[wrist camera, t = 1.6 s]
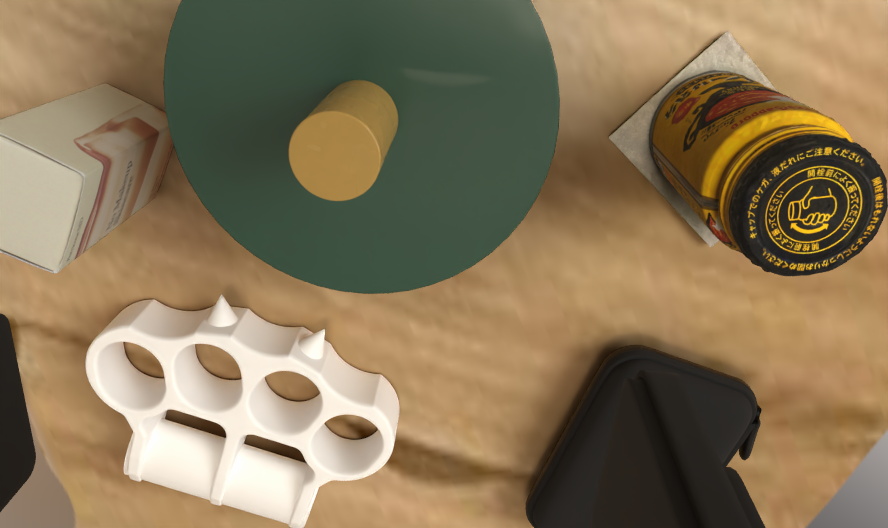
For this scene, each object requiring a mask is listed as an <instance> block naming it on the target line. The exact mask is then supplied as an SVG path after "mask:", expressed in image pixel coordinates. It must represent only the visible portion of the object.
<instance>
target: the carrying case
mask: <svg viewBox="0 0 888 528" xmlns="http://www.w3.org/2000/svg"><path fill="white" fill-rule="evenodd" d="M640 370H648V371H658V372H667V373H676V374H679V375H680V376H681V378H682V380H683V382H684V384H685V386H686V388H687V390H688V392H689V395H690V397H691V399H692V401H693V403H694V405H695V407H696V410H697V412H698V414H699V416H700V418H701V420H702V422H703V425H704V427H705V429H706V431H707V433H708V435H709V437H710V440H711V442H712V444H713V446H714V448H715V450H716V452H717V455H718V457H719V459H720V461H721V463H722V465H723V467H726V466H727V465H728V463H729V462H730V461H731V459H732V458H733V456H734V455H735V453H736V452H737V451H738V449H739V455H740V457H741V458H742V459H743V460H746V459H747V458H748V457H749V456H750V454H751V451H752V448H753V445H754V441H755V438H756V435H757V432H758V429H759V427H760V420H759V416H760V413H761V408H760V407H759V406H758V405H757V401H756V397H755V395H754V393H753V391H752V390H751V389H750V387H749V386H748V385H747V384H746V383H745V382H743V381H742V380H740V379H738V378H736V377H733V376H730V375H727V374H724V373H721V372H718V371H716V370H713V369H710V368H707V367H704V366H701V365H698V364H695V363H693V362H690V361H687V360H684V359H681V358H678V357H675V356H673V355H670V354H667V353H664V352H661V351H658V350H655V349H652V348H650V347H646V346H642V345H631V346H625V347H622V348H620V349H617V350H615V351H614V352H612V353H611V354H610V355H608V356H607V357H606V359H605V360H604V361H603V362H602V364H601V366H600V367H599V369H598V371H597V372H596V374H595V376H594V377H593V379H592V381H591V383H590V385H589V387H588V388H587V390H586V392H585V394H584V396H583V397H582V399H581V401H580V403H579V405H578V407H577V408H576V410H575V412H574V414H573V416H572V417H571V419H570V421H569V423H568V425H567V426H566V428H565V430H564V432H563V434H562V436H561V437H560V439H559V441H558V443H557V445H556V446H555V448H554V450H553V452H552V454H551V455H550V457H549V459H548V461H547V463H546V464H545V466H544V468H543V470H542V472H541V473H540V475H539V477H538V479H537V481H536V482H535V484H534V486H533V488H532V490H531V492H530V494H529V496H528V499H527V502H526V515H527V518H528V520H529V522H530V523H531V524H532V526H533V527H534V528H590V525H591V513H592V508H593V504H594V499H595V495H596V491H597V487H598V483H599V479H600V475H601V470H602V466H603V462H604V458H605V454H606V450H607V446H608V441H609V437H610V433H611V429H612V425H613V421H614V417H615V412H616V408H617V404H618V400H619V396H620V392H621V388H622V384H623V382H624V380H625V379H626V378H632V379H635V378H636V375H637V373H638V372H639V371H640Z"/></svg>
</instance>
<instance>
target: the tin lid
mask: <svg viewBox="0 0 888 528" xmlns="http://www.w3.org/2000/svg"><path fill="white" fill-rule="evenodd" d="M164 97H165V110H166V115H167V120H168V125H169V130H170V135H171V138H172V141H173V144H174V147H175V150H176V153H177V156H178V159H179V161H180V163H181V166H182V168H183V170H184V172H185V174H186V176H187V178H188V180H189V182H190V184H191V186H192V187H193V189H194V191H195V192H196V194H197V195H198V197H199V199H200V200H201V202H202V203H203V205H204V206H205V207H206V208H207V210H208V211H209V212H210V213H211V215H212V216H213V217H214V218H215V220H216V221H217V222H218V223H219V224H220V225H221V226H222V227H223V228H224V229H225V230H226V231H227V232H228V233H229V234H230V235H231V236H232V237H233V238H234V239H235V240H236V241H237V242H238V243H240V244H241V245H242V246H243V247H245V248H246V249H247V250H248V251H250V252H251V253H252V254H253V255H255V256H256V257H258V258H259V259H261V260H263V261H264V262H266V263H267V264H269V265H271V266H272V267H274V268H276V269H278V270H280V271H282V272H284V273H286V274H288V275H290V276H292V277H294V278H297V279H300V280H302V281H305V282H308V283H311V284H314V285H317V286H320V287H325V288H329V289H334V290H338V291H344V292H354V293H363V294H373V293H393V292H401V291H409V290H413V289H417V288H421V287H425V286H429V285H432V284H435V283H438V282H440V281H443V280H445V279H448V278H450V277H453V276H455V275H457V274H459V273H460V272H462V271H464V270H466V269H468V268H470V267H472V266H473V265H475V264H476V263H477V262H479V261H480V260H482V259H483V258H484V257H486V256H487V255H489V254H490V253H491V252H493V251H494V250H495V249H496V248H497V247H498V246H499V245H500V244H501V243H502V242H503V241H504V240H506V239H507V238H508V237H509V236H510V234H511V233H512V232H513V231H514V230H515V228H516V227H517V226H518V225H519V224H520V222H521V221H522V220H523V219H524V217H525V216H526V214H527V213H528V211H529V210H530V208H531V206H532V205H533V203H534V202H535V200H536V198H537V196H538V194H539V192H540V190H541V188H542V186H543V183H544V181H545V179H546V177H547V174H548V171H549V168H550V165H551V161H552V158H553V155H554V152H555V146H556V140H557V134H558V128H559V108H560V98H559V87H558V76H557V70H556V66H555V62H554V57H553V53H552V49H551V45H550V43H549V40H548V37H547V35H546V32H545V29H544V27H543V24H542V21H541V19H540V17H539V15H538V14H537V12H536V10H535V8H534V6H533V4H532V2H531V1H530V0H182V1H181V3H180V5H179V7H178V10H177V13H176V16H175V19H174V22H173V25H172V28H171V30H170V35H169V40H168V45H167V50H166V55H165V67H164Z"/></svg>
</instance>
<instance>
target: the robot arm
mask: <svg viewBox="0 0 888 528" xmlns="http://www.w3.org/2000/svg"><path fill="white" fill-rule="evenodd" d="M35 460H36V453H35V448H34V443H33V438H32V433H31V428H30V423H29V418H28V413H27V408H26V403H25V398H24V393H23V388H22V383H21V378H20V373H19V368H18V363H17V358H16V353H15V348H14V343H13V338H12V333H11V328H10V324H9V321H8V319H7V317H6V316H5V315H3V314H0V512H1V511H2V509H3V508H4V507H5V506H6V505H7V504H8V502H9V501H10V500H11V499H12V497H13V496H14V495H15V494H16V493H17V492H18V490H19V489H20V488H21V487H22V486H23V484H24V483H25V482H26V481H27V480H28V478H29V477H30V475H31V473H32V471H33V468H34V465H35ZM590 528H765V526H764V524H763V522H762V520H761V518H760V516H759V514H758V512H757V510H756V507H755V505H754V503H753V501H752V499H751V497H750V495H749V493H748V491H747V489H746V487H745V485H744V483H743V481H742V479H741V477H740V476H739V474H738V473H737V471H735V470H734V469H732V468H731V467H723V465H722V463H721V461H720V459H719V457H718V455H717V452H716V450H715V448H714V446H713V444H712V442H711V440H710V437H709V435H708V433H707V431H706V429H705V427H704V425H703V422H702V420H701V418H700V416H699V414H698V412H697V410H696V407H695V405H694V403H693V401H692V399H691V397H690V395H689V392H688V390H687V388H686V386H685V384H684V382H683V380H682V378H681V376H680V375H679V374H676V373H667V372H658V371H648V370H640V371H639V372H638V373H637V375H636V378H635V379H632V378H626V379H625V380H624V382H623V384H622V388H621V392H620V396H619V400H618V404H617V408H616V412H615V417H614V421H613V425H612V429H611V433H610V437H609V441H608V446H607V450H606V454H605V458H604V462H603V466H602V470H601V475H600V479H599V483H598V487H597V491H596V495H595V499H594V504H593V508H592V513H591V525H590Z"/></svg>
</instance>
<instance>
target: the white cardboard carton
mask: <svg viewBox="0 0 888 528" xmlns="http://www.w3.org/2000/svg"><path fill="white" fill-rule="evenodd" d="M173 145H174V144H173V141H172V138H171V135H170V130H169V125H168V120H167V115H166V112H164V111H162V110H160V109H158V108H156V107H154V106H152V105H150V104H148V103H146V102H144V101H142V100H140V99H138V98H136V97H134V96H132V95H130V94H128V93H126V92H123V91H121V90H119V89H117V88H115V87H113V86H111V85H108V84H106V83H104V84H100V85H97V86H95V87H92V88H89V89H86V90H83V91H80V92H77V93H75V94H72V95H69V96H66V97H63V98H60V99H58V100H55V101H52V102H49V103H46V104H43V105H40V106H37V107H34V108H31V109H28V110H26V111H23V112H20V113H17V114H15V115H12V116H9V117H6V118H2V119H0V252H1V253H4V254H6V255H8V256H11V257H13V258H16V259H18V260H20V261H23V262H25V263H28V264H30V265H33V266H35V267H38V268H41V269H44V270H47V271H49V272H52V273H58V272H59V271H61V270H62V269H63V268H64V267H66V266H67V265H68V264H70V263H71V262H72V261H73V260H75V259H76V258H77V257H78V256H80V255H81V254H82V253H84V252H85V251H86V250H88V249H89V248H90V247H92V246H93V245H94V244H96V243H97V242H98V241H99V240H101V239H102V238H103V237H105V236H106V235H107V234H108V233H110V232H111V231H112V230H114V229H115V228H116V227H117V226H119V225H120V224H121V223H123V222H124V221H125V220H126V219H128V218H129V217H131V216H132V215H133V214H134V213H136V212H137V211H138V210H140V209H141V208H142V207H144V206H145V205H146V204H148V203H149V202H150V201H151V200H152V199H154V198H155V196H156V193H157V191H158V188H159V186H160V183H161V181H162V178H163V175H164V172H165V169H166V166H167V164H168V161H169V158H170V154H171V151H172V148H173Z"/></svg>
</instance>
